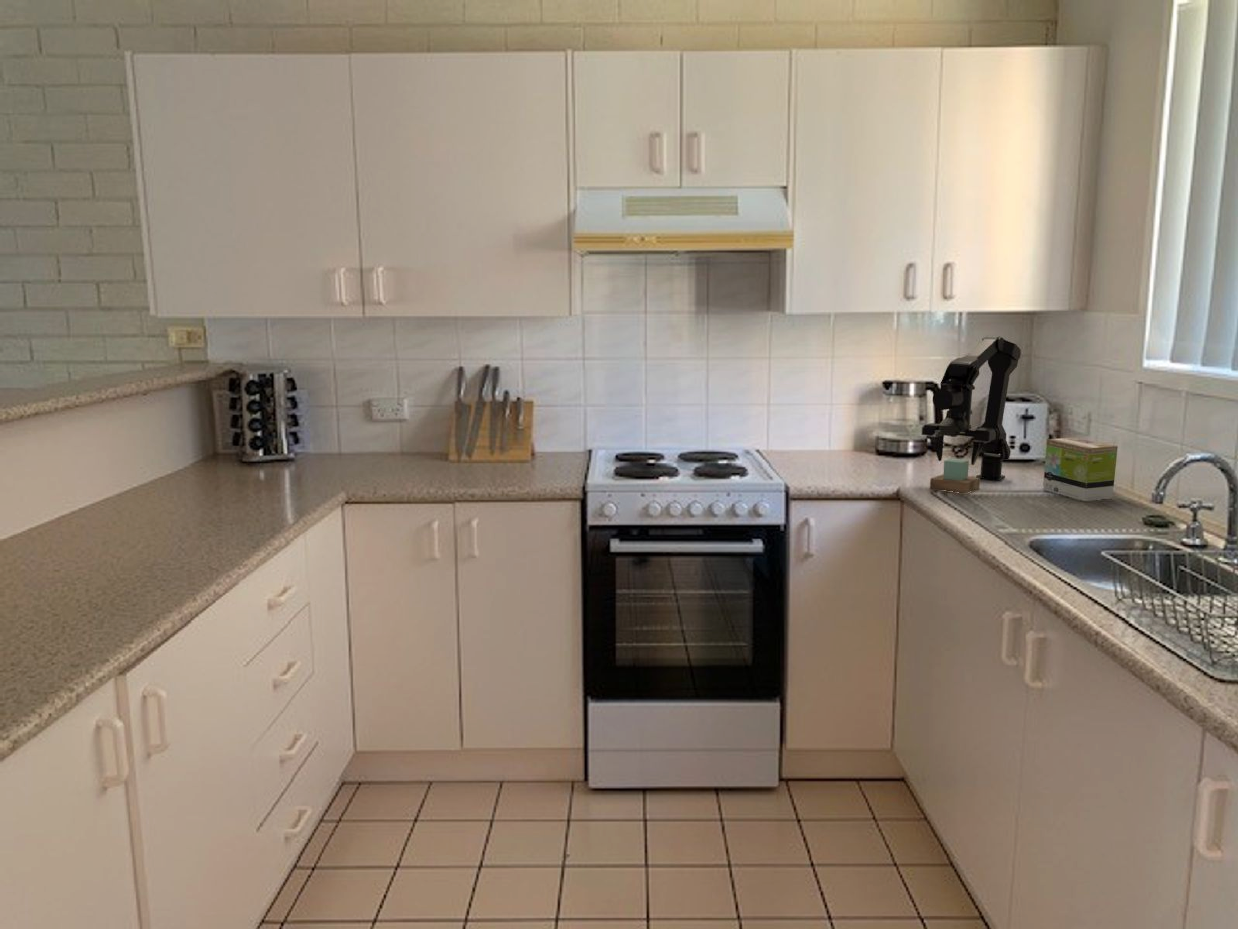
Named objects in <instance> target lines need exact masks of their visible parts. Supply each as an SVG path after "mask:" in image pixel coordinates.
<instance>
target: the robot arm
mask: <svg viewBox="0 0 1238 929" xmlns="http://www.w3.org/2000/svg"><path fill="white" fill-rule="evenodd" d="M1021 355H1022V353H1021V348H1020V347H1019V346H1018V344H1016V343H1013V342H1011V341H1009V340H1006V339H1005V338H1003V337H1001V336H997V335H986V336H983V337H982V340H981V342H979V343H978V344H977V345H976V346H975V347H974V348H973V349H972V350H971V351H970V352H968V354H966V355H965V356H960V357H957V358H955V359H954V360H951V361H950V363H948V365H947V367H946V369H945V372H944V374H943V376H942V379H941V381H940V384H939V385H940V388H939V389H937V390H936V391H935V392H934V394H933V396H932V404H933V405H934V407H935V408H936V409H938V410H940V411H945V410H947V411H946V414H945V415H946V416H945V418H943V419H942V421H940V422H939V423H934V422H930V423H925V424H924V425H923V426H922V428H921V435H922V436H925V438H926V439H929V440H930V441H931V443H932V445H933V447H934V450H935V454H936V457H937V460H938V462H941V461H942V459H943V452H944V451H943V450H944V440H945V438H944V437H945V436H947V437H951V438H957V436H960V437H961V436H962V437H972V438H974V439H973V440H972V441H971V443H972V452H971V461H970V462H971V463H970V464H971V465H972V466H974V465H975V464H976V461H977V460H978V457H979V458H981V461H980V462H981V463H980V474H977V475H976V476H975V477H977V478H980V479H985V480H992V481H1000V480H1002V479H1004V478H1006V475H1002V472H1003V470H1002V468H1003V461H1005V460H1007V461H1009V459H1010V457H1011V452H1012V450H1011V448H1010V446H1009V444H1008V441H1007V433H1006V430H1005V429H1004V426H1003V422H1004V421H1003V420H1004V413H1005V406H1006V400H1007V394H1008V389H1009V388H1008V387H1009V380H1010V377H1011V376H1010V375H1011V374H1012V373H1013V372H1014V371H1015V370H1016V368H1017V367H1018V365H1019V360H1020V358H1021ZM986 362H987V365H988V368H989V369H990V372H991V377H990V385H989V390H988V397H987V404H986V410H985V417H984V422H983V423H982V424H981V425H980V426H977V427H976V429H972V425H971V415H972V414H973V409H972V398H973V390H975V389H976V386H975V385H974V383H975V382H976V380H977V378H978V377H979V375H980V368H981V367H982V366H984V365H985V363H986Z"/></svg>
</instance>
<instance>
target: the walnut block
mask: <svg viewBox="0 0 1238 929" xmlns="http://www.w3.org/2000/svg"><path fill="white" fill-rule="evenodd" d="M980 480H981V478H977V477H976V476H969V475H968V478H966V479H964V480H962V481H959V480H951V479H944V478H943V473H942V474H940V475H937V476H933V477H931V478H930V480H929V481H930V483H929V490H931V489H932V491H938V490H946V491H953V492H959V493H967V492H970V491H972V490H975V491H977V490H979V489H980V484H981V483H980ZM972 492H973V491H972ZM959 493H958V494H959ZM970 493H971V492H970Z"/></svg>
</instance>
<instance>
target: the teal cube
mask: <svg viewBox="0 0 1238 929" xmlns="http://www.w3.org/2000/svg"><path fill="white" fill-rule="evenodd" d="M969 463H970V462H969V460H968V459H960V458H953V457H950V458H948V459H945V460H943V473H942V474H943V478H944V479H951V480H959V481H962V480H964V479H966V478H968V476H969Z"/></svg>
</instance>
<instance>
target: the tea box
mask: <svg viewBox="0 0 1238 929" xmlns="http://www.w3.org/2000/svg"><path fill="white" fill-rule="evenodd" d="M1118 447H1119V445H1116V444H1115V445H1114V444H1109V443H1104V442H1098V441H1095V440H1090V439H1085V438H1080V437H1074V436H1073V437H1062V438H1061V437H1060V438H1050V439H1048V438H1047V440H1046V449H1045V458H1044V459H1045V461H1044V462H1045V463H1044V472H1043V482H1042V483H1043V484H1042V487H1043V488H1042V490H1043V491H1045V490H1046V491H1047V492H1049V493H1050V492H1051V493H1055V494H1058V495H1061V496H1065V497H1067V496H1068V498H1070V499H1075V500H1077V501H1080V500H1082V501H1081V502H1083V501H1087V500H1098V501H1101V500H1100V499H1107V500H1111V499H1110V498H1112V499H1113V495H1114V487H1115V486H1114V485H1115V479H1116V478H1115V476H1116V468H1117V467H1116V466H1117V460H1118V459H1117V457H1118V456H1117V455H1118Z"/></svg>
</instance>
